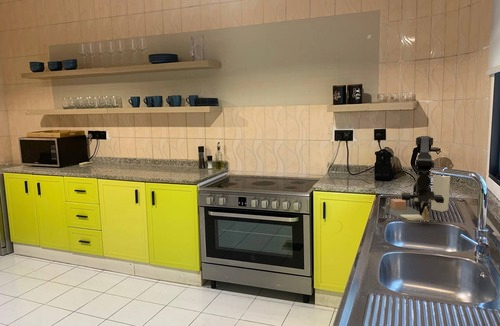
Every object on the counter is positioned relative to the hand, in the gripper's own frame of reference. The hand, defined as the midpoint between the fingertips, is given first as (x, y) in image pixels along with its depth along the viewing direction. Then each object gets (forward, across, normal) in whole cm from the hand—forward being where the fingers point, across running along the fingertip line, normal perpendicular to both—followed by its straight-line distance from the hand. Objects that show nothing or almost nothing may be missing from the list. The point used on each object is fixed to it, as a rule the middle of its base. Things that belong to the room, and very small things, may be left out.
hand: (420, 214), depth 194 cm
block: (+3, -9, +20) cm, 22 cm away
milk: (+3, +12, +24) cm, 27 cm away
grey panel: (+3, -5, +10) cm, 11 cm away
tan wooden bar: (+2, +2, +3) cm, 4 cm away
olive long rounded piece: (+3, -7, +9) cm, 12 cm away
